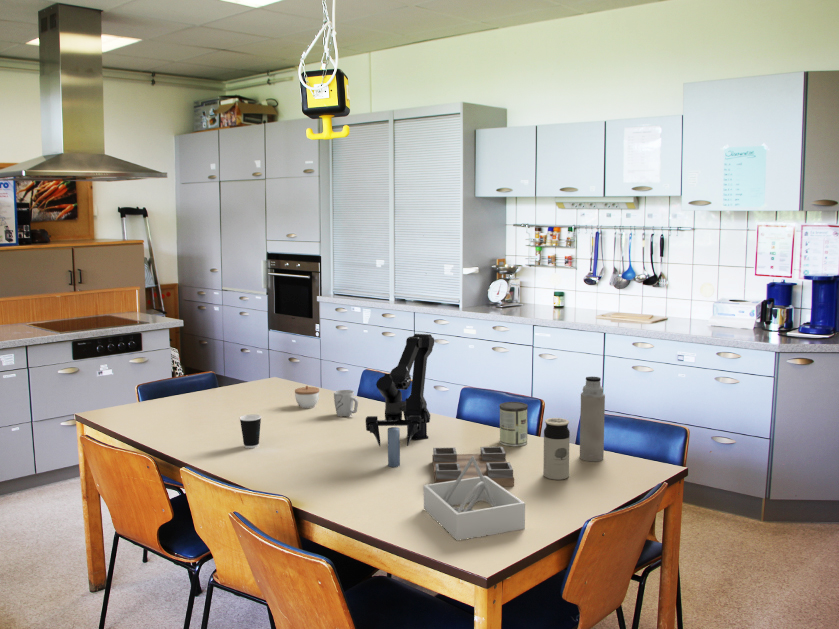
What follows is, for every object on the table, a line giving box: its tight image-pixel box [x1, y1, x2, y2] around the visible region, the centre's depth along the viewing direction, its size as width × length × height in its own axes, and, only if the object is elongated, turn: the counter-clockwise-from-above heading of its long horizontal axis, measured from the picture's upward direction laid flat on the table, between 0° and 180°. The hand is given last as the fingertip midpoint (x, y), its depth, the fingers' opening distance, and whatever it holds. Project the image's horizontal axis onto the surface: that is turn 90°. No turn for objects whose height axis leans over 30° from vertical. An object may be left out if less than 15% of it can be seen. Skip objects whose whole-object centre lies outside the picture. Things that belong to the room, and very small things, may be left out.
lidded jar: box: [294, 385, 320, 409], centre depth 320 cm, size 11×11×9 cm
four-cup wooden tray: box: [431, 446, 515, 487], centre depth 232 cm, size 24×24×5 cm
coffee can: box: [498, 401, 529, 447], centre depth 264 cm, size 10×10×14 cm
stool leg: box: [387, 426, 401, 468], centre depth 240 cm, size 4×4×12 cm
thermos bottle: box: [579, 376, 606, 462], centre depth 245 cm, size 8×8×28 cm
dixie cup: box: [238, 414, 262, 449], centre depth 262 cm, size 8×8×11 cm
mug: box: [333, 389, 359, 417], centre depth 304 cm, size 11×8×10 cm
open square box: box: [423, 476, 526, 541], centre depth 196 cm, size 20×23×7 cm
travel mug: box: [542, 417, 571, 481], centre depth 228 cm, size 8×8×18 cm
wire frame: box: [444, 456, 497, 513], centre depth 195 cm, size 18×13×16 cm
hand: (393, 445), depth 239 cm, fingers open, 9 cm apart
